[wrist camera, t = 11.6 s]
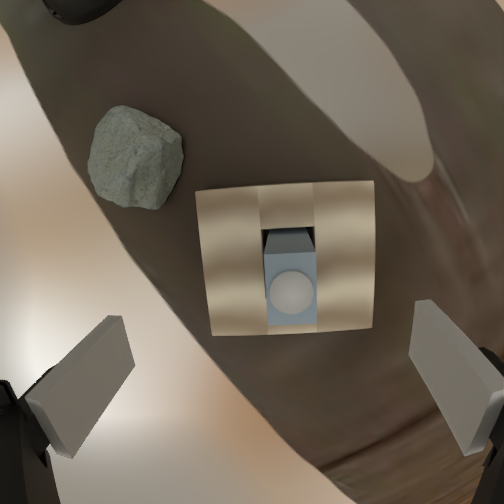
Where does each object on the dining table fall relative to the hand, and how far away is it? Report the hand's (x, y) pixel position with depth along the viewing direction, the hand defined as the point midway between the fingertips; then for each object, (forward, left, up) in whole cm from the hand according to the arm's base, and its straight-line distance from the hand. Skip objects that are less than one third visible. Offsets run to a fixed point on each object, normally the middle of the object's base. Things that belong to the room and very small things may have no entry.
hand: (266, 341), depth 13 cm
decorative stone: (-11, -15, -24) cm, 30 cm away
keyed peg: (+2, +1, -24) cm, 24 cm away
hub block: (+2, +1, -24) cm, 24 cm away
